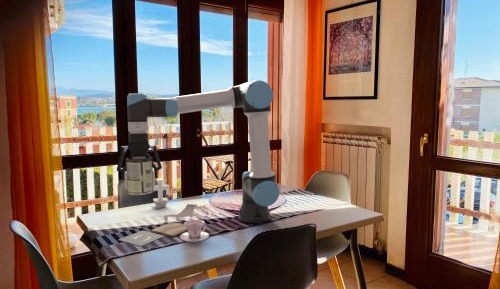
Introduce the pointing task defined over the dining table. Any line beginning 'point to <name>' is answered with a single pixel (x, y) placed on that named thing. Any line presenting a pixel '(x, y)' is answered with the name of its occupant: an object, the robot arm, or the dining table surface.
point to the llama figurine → (186, 212)
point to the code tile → (141, 238)
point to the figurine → (161, 194)
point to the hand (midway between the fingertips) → (140, 187)
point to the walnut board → (171, 229)
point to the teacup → (194, 231)
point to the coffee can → (139, 175)
